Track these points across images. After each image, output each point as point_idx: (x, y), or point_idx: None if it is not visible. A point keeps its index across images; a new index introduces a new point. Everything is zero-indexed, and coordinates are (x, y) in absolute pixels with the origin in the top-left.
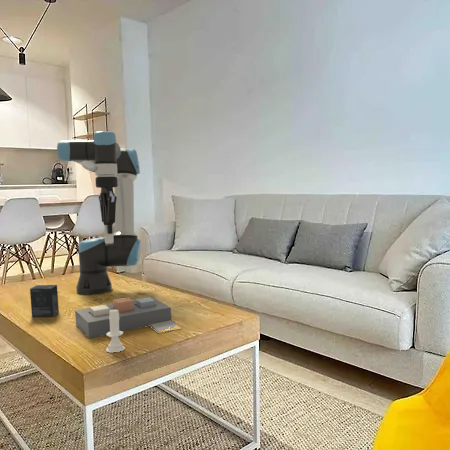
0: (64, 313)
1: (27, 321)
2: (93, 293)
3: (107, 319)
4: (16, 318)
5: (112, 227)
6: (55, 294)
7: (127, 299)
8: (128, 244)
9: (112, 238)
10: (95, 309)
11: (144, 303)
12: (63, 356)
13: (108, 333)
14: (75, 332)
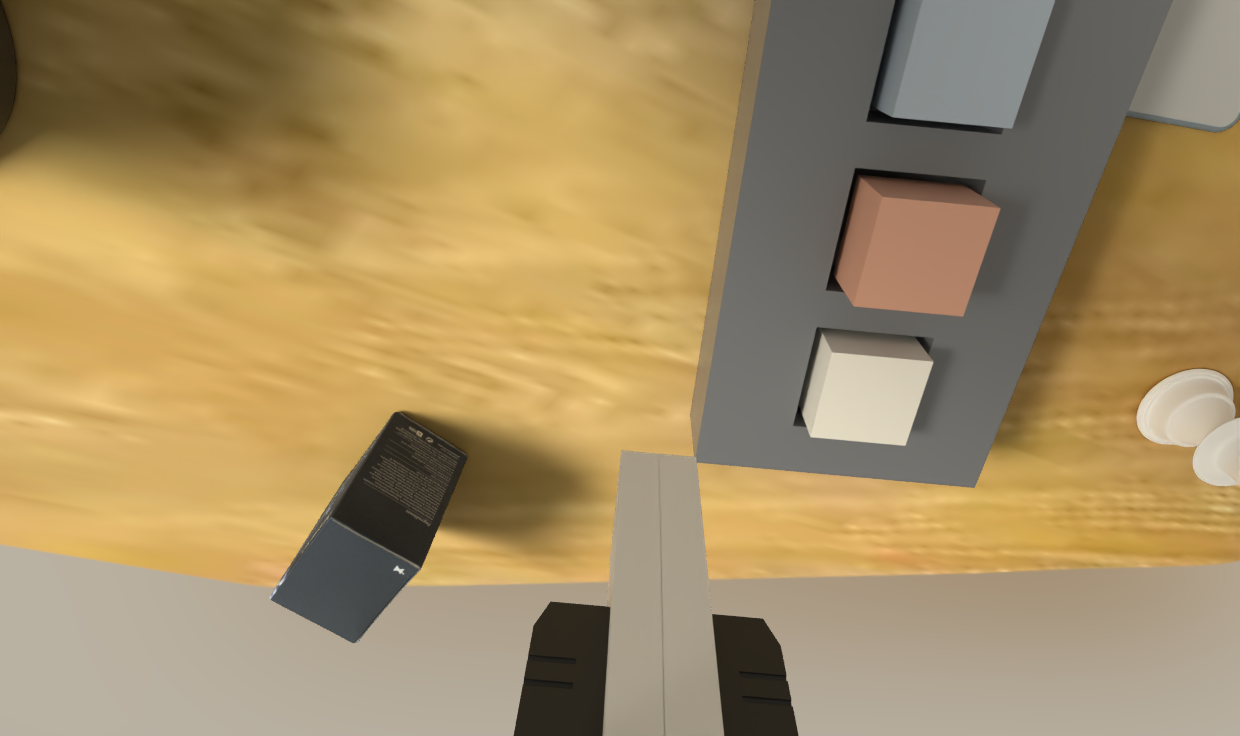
0: (439, 394)
1: (476, 551)
2: (10, 79)
3: (1010, 396)
4: None
5: (718, 713)
6: (388, 499)
7: (938, 225)
8: None
9: (698, 522)
10: (885, 431)
11: (1016, 96)
12: (1043, 567)
13: (1215, 475)
14: None
